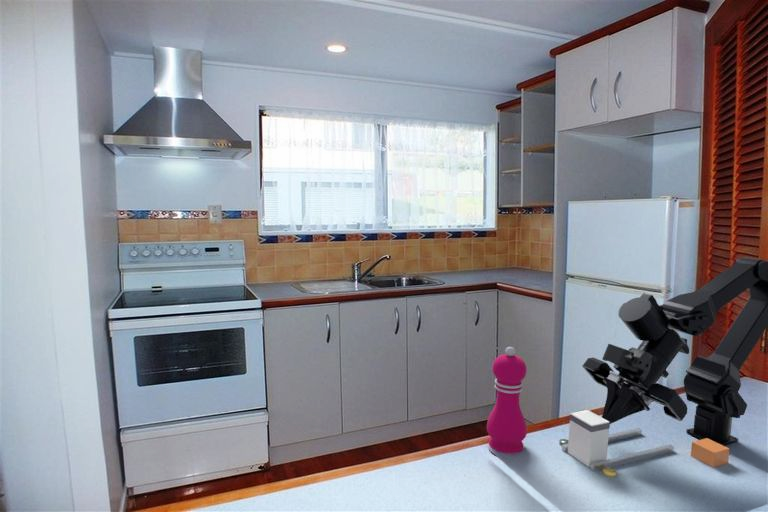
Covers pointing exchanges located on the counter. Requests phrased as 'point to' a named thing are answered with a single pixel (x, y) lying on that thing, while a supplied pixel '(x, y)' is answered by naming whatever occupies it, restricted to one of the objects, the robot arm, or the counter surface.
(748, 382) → the counter surface
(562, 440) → the panel
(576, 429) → the plate
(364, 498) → the counter surface
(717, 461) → the orange cube
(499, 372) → the pepper mill
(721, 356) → the robot arm
